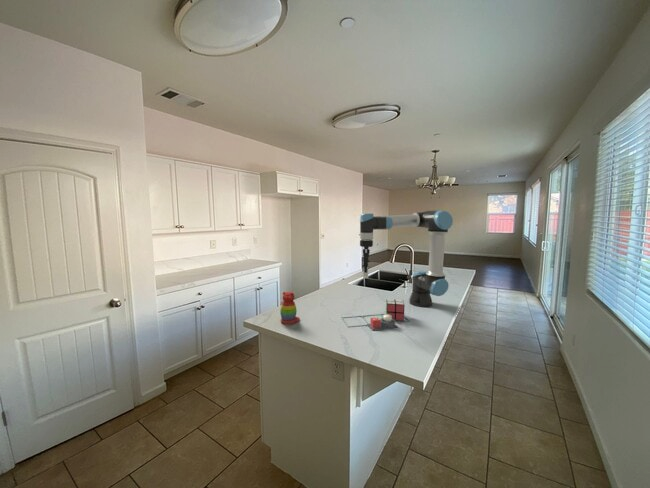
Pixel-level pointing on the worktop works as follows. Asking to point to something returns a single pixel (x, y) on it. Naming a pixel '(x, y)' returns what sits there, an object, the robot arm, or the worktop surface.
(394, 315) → the puzzle cube
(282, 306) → the stacking bear
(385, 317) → the plunger
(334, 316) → the worktop surface
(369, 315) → the track
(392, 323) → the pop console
